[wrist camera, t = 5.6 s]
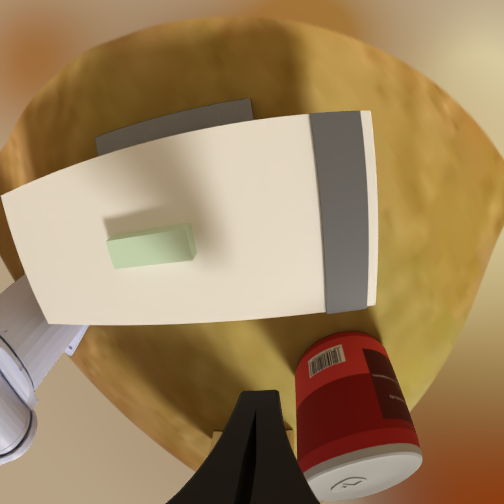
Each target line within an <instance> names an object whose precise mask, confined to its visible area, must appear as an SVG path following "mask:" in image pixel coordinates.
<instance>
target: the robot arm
mask: <svg viewBox="0 0 504 504" xmlns="http://www.w3.org/2000/svg"><path fill="white" fill-rule="evenodd" d="M88 327H89V325H67V324H48V322H47V320H46V318H45V316H44V314H43V312H42V310H41V307H40V305H39V303H38V301H37V299H36V297H35V294H34V292H33V290H32V287H31V285H30V283H29V280H28V278H27V275H26V273H24V275H23V276H22V277H20V278H19V279H18V280H17V281H15V282H14V283H13V284H12V285H10V286H9V287H8V288H7V289H6V290H4V291H3V292H2V293H1V294H0V465H2V464H4V463H6V462H9V461H12V460H15V459H16V458H19V457H20V456H21V455H23V454H24V453H25V452H26V451H27V450H28V449H29V447H30V446H31V444H32V442H33V440H34V437H35V434H36V430H37V417H36V414H35V411H34V410H33V409H34V407H35V406H36V404H37V402H38V401H39V400H38V399H37V397H36V396H35V394H34V392H35V390H36V389H37V387H38V386H39V384H40V383H41V382H42V380H43V379H44V377H45V376H46V375H47V373H48V372H49V370H50V369H51V368H52V367H53V365H54V364H55V363H56V361H57V360H58V359H59V357H60V356H61V355H62V353H63V352H65V353H67V354H68V355H72V354H73V353H74V351H75V349H76V348H77V346H78V344H79V342H80V341H81V339H82V337H83V335H84V333H85V332H86V330H87V328H88ZM166 504H320V503H319V501H318V499H317V498H316V496H315V495H314V493H313V491H312V489H311V488H310V486H309V484H308V482H307V480H306V478H305V476H304V474H303V473H302V471H301V468H300V466H299V464H298V462H297V460H296V457H295V455H294V453H293V450H292V448H291V445H290V442H289V439H288V436H287V433H286V430H285V427H284V424H283V416H282V409H281V403H280V396H279V391H277V390H263V391H243V392H241V393H240V396H239V399H238V401H237V404H236V406H235V409H234V411H233V413H232V415H231V417H230V419H229V421H228V423H227V425H226V427H225V429H224V431H223V433H222V434H221V436H220V438H219V440H218V441H217V443H216V444H215V446H214V448H213V449H212V451H211V452H210V454H209V455H208V457H207V458H206V460H205V461H204V462H203V464H202V465H201V466H200V468H199V469H198V470H197V472H196V473H195V474H194V475H193V476H192V478H191V479H190V480H189V481H188V482H187V483H186V484H185V486H184V487H183V488H182V489H181V490H180V491H179V492H178V493H177V494H176V495H175V496H174V497H173V498H171V499H170V500H169V501H168V502H167V503H166Z"/></svg>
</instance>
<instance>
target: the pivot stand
mask: <svg viewBox="0 0 504 504" xmlns="http://www.w3.org/2000/svg"><path fill="white" fill-rule="evenodd" d="M252 120H254V116H253V109H252V103H251V99H250V98H247V99H241V100H235V101H229V102H224V103H218V104H213V105H208V106H203V107H199V108H194V109H190V110H186V111H181V112H177V113H173V114H169V115H165V116H162V117H158V118H154V119H151V120H147V121H144V122H140V123H137V124H134V125H130V126H127V127H124V128H121V129H118V130H115V131H112V132H109V133H106V134H103V135H100V136H98V137H95V143H96V148H97V153H98V157H99V156H102V155H105V154H108V153H111V152H114V151H118V150H121V149H124V148H128V147H131V146H135V145H138V144H142V143H146V142H149V141H153V140H157V139H161V138H165V137H169V136H174V135H178V134H182V133H187V132H191V131H196V130H201V129H206V128H211V127H216V126H222V125H227V124H233V123H239V122H246V121H252Z"/></svg>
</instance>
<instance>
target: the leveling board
mask: <svg viewBox="0 0 504 504" xmlns="http://www.w3.org/2000/svg"><path fill="white" fill-rule="evenodd" d="M1 199H2V203H3V206H4V210H5V214H6V217H7V221H8V224H9V227H10V231H11V234H12V237H13V240H14V243H15V246H16V249H17V252H18V255H19V257H20V260H21V263H22V265H23V268H24V270H25V273H26V275H27V278H28V280H29V283H30V285H31V287H32V290H33V292H34V294H35V297H36V299H37V301H38V303H39V305H40V307H41V310H42V312H43V314H44V316H45V318H46V320H47V322H48V324H67V325H160V324H187V323H207V322H224V321H238V320H251V319H263V318H274V317H284V316H294V315H303V314H312V313H321V312H326V313H327V314H332V313H340V312H348V311H355V310H362V309H367V306H372V305H375V302H376V286H377V263H378V199H377V176H376V161H375V148H374V137H373V128H372V119H371V111H341V112H324V113H311V114H302V115H292V116H283V117H275V118H267V119H259V120H252V121H246V122H239V123H233V124H227V125H222V126H216V127H211V128H206V129H201V130H196V131H191V132H187V133H182V134H178V135H174V136H169V137H165V138H161V139H157V140H153V141H149V142H146V143H142V144H138V145H135V146H131V147H128V148H124V149H121V150H118V151H114V152H111V153H108V154H105V155H102V156H99V157H96V158H93V159H90V160H87V161H84V162H81V163H78V164H75V165H73V166H70V167H67V168H64V169H62V170H59V171H57V172H54V173H51V174H49V175H46V176H44V177H42V178H39V179H37V180H34V181H32V182H30V183H27V184H25V185H23V186H21V187H18V188H16V189H14V190H12V191H10V192H8V193H5V194H3V195H1Z"/></svg>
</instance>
